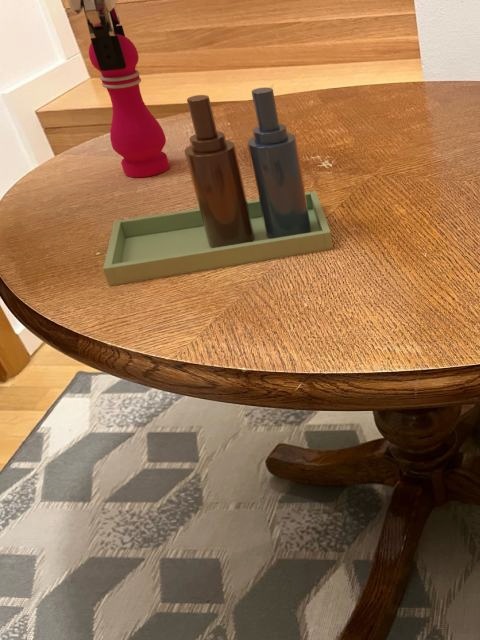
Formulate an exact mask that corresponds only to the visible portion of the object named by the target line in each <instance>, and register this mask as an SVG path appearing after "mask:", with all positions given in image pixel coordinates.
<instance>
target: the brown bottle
mask: <svg viewBox="0 0 480 640" xmlns="http://www.w3.org/2000/svg"><path fill="white" fill-rule="evenodd" d="M186 103H187V106H188V110H189V115H190V118H191V122H192V126H193V130H194V134H193V135H191V136H190V137H189V142H190V145H188V146H187V147H186V148H185V149H184V156H185V159H186V162H187V167H188V171H189V174H190V178H191V183H192V186H193V191H194V192H195V193H194V194H195V198H196V202H197V206H198V208H199V209H200V213H201V217H202V221H203V225H204V229H205V233H206V236H207V240H208V244H209V246H210V247H211V248H217V247H223V246H229V245H236V244H242V243H248V242H253V241H254V239H255V235H254V231H253V226H252V221H251V217H250V212H249V208H248V203H247V201H248V199H247V195H246V189H245V185H244V180H243V176H242V171H241V167H240V162H239V158H238V152H237V149H236V148H237V147H236V144H235V142H234V141H231V140H228V139H226V135H225V133H224V132H223V131H219V130H217V126H216V122H215V117H214V113H213V109H212V104H211V99H210V96H209V95H208V94H207V95H206V94H196V95H192V96H189V97H187V99H186Z"/></svg>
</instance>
